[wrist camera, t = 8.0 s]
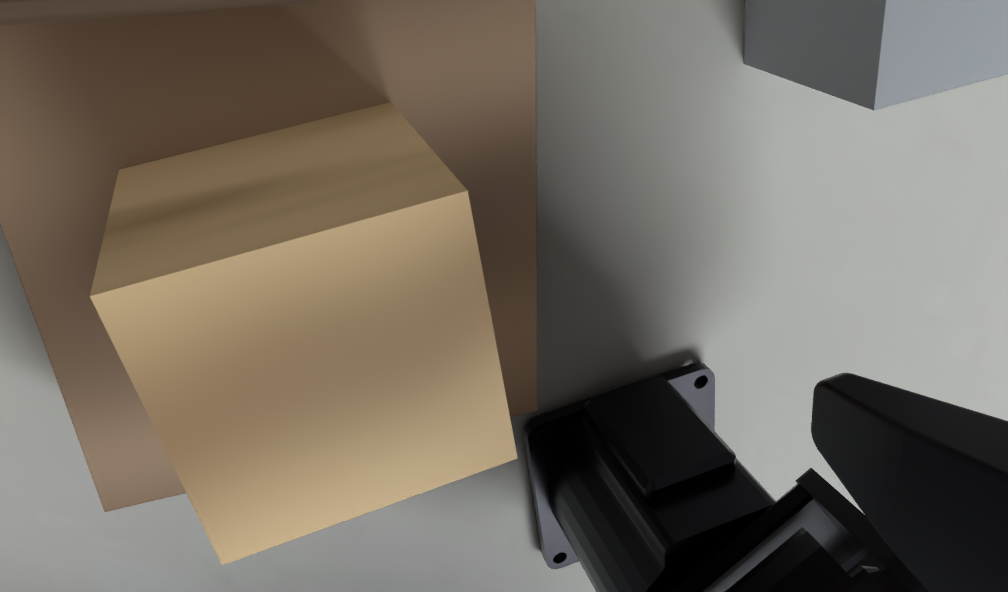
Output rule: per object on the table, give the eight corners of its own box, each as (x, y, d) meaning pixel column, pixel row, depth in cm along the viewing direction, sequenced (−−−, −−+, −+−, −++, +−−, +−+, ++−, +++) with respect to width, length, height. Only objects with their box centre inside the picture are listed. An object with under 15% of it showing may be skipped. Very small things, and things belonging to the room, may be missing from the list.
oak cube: (440, 319, 18) (518, 458, 14) (213, 391, 17) (221, 565, 12) (391, 102, 15) (467, 191, 11) (119, 169, 14) (89, 296, 10)
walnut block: (487, 331, 23) (537, 410, 20) (118, 406, 20) (104, 511, 17) (472, -38, 18) (535, -16, 15) (-14, -5, 16) (-70, 31, 12)
